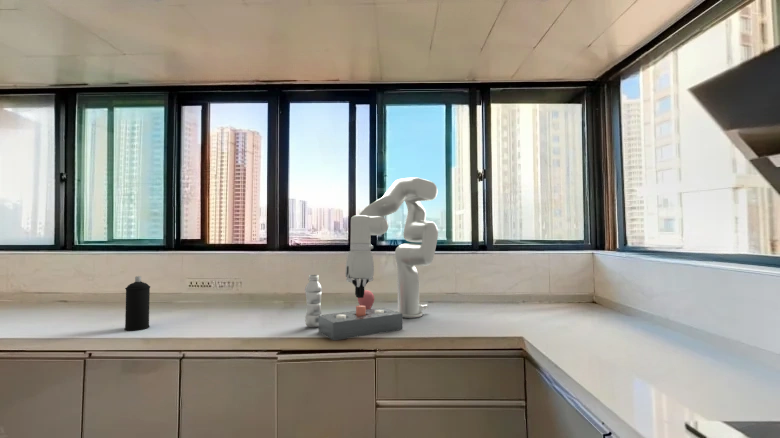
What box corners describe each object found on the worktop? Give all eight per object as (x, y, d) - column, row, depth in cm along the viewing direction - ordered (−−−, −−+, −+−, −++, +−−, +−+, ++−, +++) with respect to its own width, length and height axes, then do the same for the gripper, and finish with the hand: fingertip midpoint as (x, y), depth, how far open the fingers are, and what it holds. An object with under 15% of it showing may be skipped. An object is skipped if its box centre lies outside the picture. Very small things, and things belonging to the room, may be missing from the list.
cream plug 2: (381, 324, 150) (381, 309, 150) (385, 326, 147) (385, 311, 147) (373, 326, 148) (373, 310, 149) (377, 328, 145) (377, 312, 146)
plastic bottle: (318, 329, 146) (318, 276, 147) (302, 328, 147) (302, 276, 148) (324, 325, 152) (325, 274, 153) (308, 324, 154) (309, 274, 154)
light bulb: (354, 319, 162) (354, 291, 162) (362, 316, 169) (362, 288, 169) (370, 321, 159) (370, 291, 160) (377, 317, 166) (377, 289, 166)
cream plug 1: (343, 330, 142) (343, 314, 142) (347, 332, 139) (347, 315, 139) (334, 331, 140) (334, 315, 140) (338, 333, 137) (338, 316, 137)
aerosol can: (154, 327, 151) (155, 275, 151) (132, 332, 143) (134, 278, 144) (141, 325, 154) (142, 275, 155) (119, 329, 147) (120, 277, 147)
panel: (383, 322, 157) (383, 307, 157) (402, 329, 145) (402, 313, 145) (318, 331, 142) (318, 315, 143) (333, 340, 130) (333, 322, 131)
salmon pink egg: (363, 320, 146) (362, 305, 146) (367, 322, 143) (367, 306, 143) (354, 322, 144) (354, 306, 145) (358, 324, 141) (358, 307, 142)
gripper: (373, 248, 152) (372, 294, 151) (338, 247, 144) (337, 297, 143) (382, 248, 145) (382, 297, 144) (346, 248, 138) (345, 300, 137)
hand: (359, 297), depth 144 cm, fingers closed
